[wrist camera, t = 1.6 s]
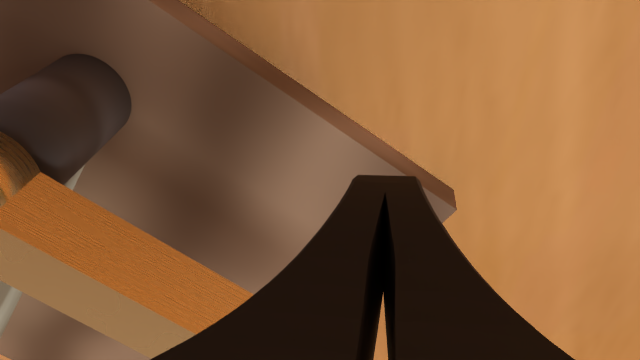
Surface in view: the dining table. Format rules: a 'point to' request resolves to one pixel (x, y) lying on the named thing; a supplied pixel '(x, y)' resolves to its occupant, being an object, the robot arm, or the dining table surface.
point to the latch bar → (101, 263)
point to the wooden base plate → (173, 146)
